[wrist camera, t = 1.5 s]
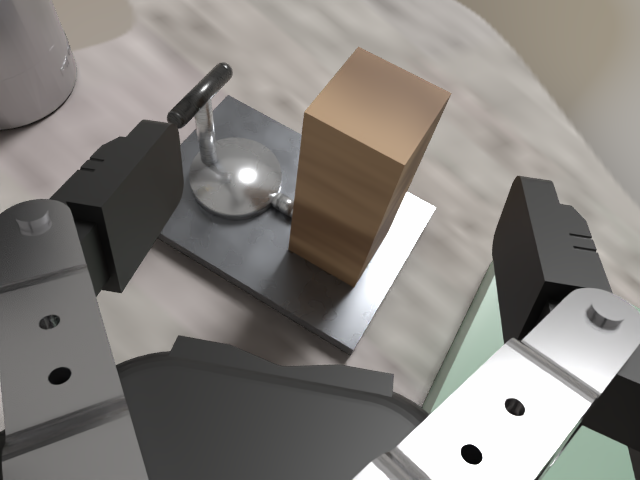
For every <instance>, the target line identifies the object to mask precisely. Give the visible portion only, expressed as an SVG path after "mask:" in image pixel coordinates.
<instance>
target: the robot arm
mask: <svg viewBox="0 0 640 480" xmlns="http://www.w3.org/2000/svg"><path fill="white" fill-rule="evenodd" d="M76 76H77V67H76V63H75V59H74V57H73V54H72V51H71V49H70V45H69V42H68V39H67V37H66V34H65V32H64V31H63V29H62V26H61V23H60V21H59V18H58V16H57V13H56V10H55V7H54V5H53V2H52V0H0V130H2V129H11V128H16V127H19V126H23V125H27V124H30V123H32V122H34V121H37V120H39V119H41V118H43V117H45V116H46V115H48V114H50V113H51V112H53V111H54V110H56V109H57V108H58V107H59V106H60V105H61V104H62V103H63V102H64V101H65V100H66V99H67V97H68V96H69V94H70V93H71V91H72V90H73V87H74V84H75V82H76ZM183 188H184V177H183V167H182V158H181V148H180V139H179V132H178V128H177V126H176V125H175V124H171V123H164V122H158V121H151V120H142V121H141V122H140V123H139V124H138V125H137V126H136V127H135V128H134V129H133V130H132V131H131V132H130V133H129V134H128V135H127V137H118V138H116V139H114V140H112V141H110V142H108V143H106V144H104V145H102V146H101V147H100V148H99V149H98V150H97V151H96V152H95V153H94V154H93V155H92V156H91V157H90V160H87V161H86V162H85V163H84V164H83V165H82V166H81V167H80V170H77V171H76V172H75V173H74V174H73V175H72V176H71V177H70V178H69V179H68V180H67V181H66V182H65V183H64V184H63V185H62V186H61V187H60V188H59V190H58V191H57V192H56V193H55V194H54V195H53V196H52V197H51V198H50V199H36V200H30V201H26V202H22V203H19V204H16V205H14V206H12V207H10V208H8V209H6V210H5V211H4V212H2V213H1V214H0V381H1V392H2V402H3V413H4V423H5V430H3V431H1V432H0V480H542V478H543V477H544V476H545V474H546V473H547V472H548V471H549V469H550V468H551V467H552V465H553V464H554V463H555V461H556V460H557V459H558V457H559V456H560V455H561V453H562V452H563V451H564V449H565V448H566V447H567V445H568V444H569V443H570V442H571V440H572V439H573V438H574V436H575V435H576V434H577V432H578V431H579V430H580V428H581V427H582V426H585V427H587V428H589V429H591V430H593V431H595V432H598V433H600V434H602V435H604V436H606V437H608V438H611V439H613V440H615V441H617V442H619V443H621V444H624V445H626V446H627V447H628V451H629V455H630V459H631V463H632V468H633V472H634V476H635V480H640V313H639V311H638V310H637V309H636V308H635V307H634V306H633V305H631V304H630V303H629V302H627V301H626V300H624V299H623V298H621V297H619V296H617V295H615V294H613V293H612V290H611V287H610V285H609V282H608V279H607V277H606V274H605V271H604V268H603V266H602V263H601V260H600V258H599V255H598V253H596V250H597V249H596V247H595V244H594V241H593V240H591V237H592V236H591V233H590V230H589V228H588V225H587V222H586V220H585V219H584V218H583V217H582V216H581V215H580V214H579V213H578V212H577V211H576V210H575V209H574V208H573V207H572V206H570V205H563V204H560V203H559V200H558V197H557V194H556V191H555V187H554V184H553V182H552V181H550V180H543V179H536V178H530V177H523V176H517V177H516V178H515V180H514V181H513V184H512V186H511V189H510V192H509V194H508V197H507V200H506V203H505V206H504V208H503V211H502V214H501V217H500V219H499V222H498V225H497V228H496V231H495V235H494V239H493V247H492V256H493V264H494V272H495V279H496V287H497V295H498V302H499V310H500V318H501V325H502V333H503V340H504V345H503V346H502V347H501V348H500V349H499V350H498V351H497V352H496V353H495V354H494V355H493V356H491V357H490V358H489V359H488V360H487V361H486V362H485V363H484V364H483V365H482V366H481V367H480V368H479V369H478V370H477V371H476V372H475V373H474V374H473V375H471V376H470V377H469V378H468V379H467V380H466V381H465V382H464V383H463V384H462V385H461V386H460V387H459V388H458V389H457V390H456V391H455V392H454V393H453V394H452V395H450V396H449V397H448V398H447V399H446V400H445V401H444V402H443V403H442V404H441V405H440V406H439V407H438V408H437V409H436V410H435V411H434V412H433V413H432V414H431V415H430V414H429V413H428V412H427V411H425V410H424V409H423V408H421V407H420V406H418V405H417V404H416V403H414V402H413V401H411V400H409V399H407V398H405V397H404V396H402V395H400V394H397V393H395V392H393V379H394V374H389V373H383V372H378V371H372V370H367V369H361V368H356V367H350V366H345V365H312V366H279V365H276V364H274V363H271V362H269V361H267V360H264V359H262V358H260V357H257V356H255V355H253V354H250V353H248V352H246V351H243V350H241V349H239V348H236V347H234V346H232V345H229V344H223V343H218V342H212V341H207V340H201V339H196V338H190V337H185V336H179V335H178V337H177V339H176V341H175V343H174V345H173V347H172V349H171V351H168V352H159V353H152V354H147V355H143V356H139V357H136V358H133V359H130V360H127V361H124V362H122V363H120V364H118V365H115V362H114V358H113V355H112V351H111V348H110V344H109V341H108V337H107V334H106V330H105V327H104V323H103V320H102V316H101V313H100V309H99V306H98V302H97V299H96V297H97V295H98V294H99V293H100V291H101V290H106V291H112V292H117V293H122V292H123V290H124V288H125V287H126V285H127V284H128V282H129V281H130V279H131V278H132V276H133V274H134V273H135V271H136V270H137V268H138V267H139V265H140V264H141V262H142V260H143V259H144V257H145V256H146V254H147V253H148V251H149V250H150V248H151V247H152V245H153V243H154V242H155V240H156V239H157V237H158V236H159V234H160V233H161V231H162V229H163V228H164V226H165V225H166V223H167V222H168V220H169V219H170V217H171V215H172V214H173V212H174V211H175V209H176V208H177V206H178V205H179V203H180V200H181V198H182V194H183Z"/></svg>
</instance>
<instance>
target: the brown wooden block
mask: <svg viewBox="0 0 640 480" xmlns="http://www.w3.org/2000/svg"><path fill="white" fill-rule="evenodd" d="M450 95H451V93H450V92H448V91H446V90H444V89H442V88H440V87H438V86H436V85H434V84H432V83H430V82H428V81H426V80H424V79H422V78H420V77H418V76H416V75H414V74H412V73H410V72H408V71H406V70H404V69H402V68H400V67H398V66H396V65H394V64H392V63H390V62H388V61H386V60H384V59H382V58H380V57H378V56H376V55H374V54H372V53H370V52H368V51H366V50H364V49H362V48H360V47H358V48H357V49H356V50H355V51H354V53H353V54H352V55H351V56H350V57H349V59H348V60H347V61H346V62H345V64H344V65H343V66H342V67H341V68H340V70H339V71H338V72H337V73H336V74H335V76H334V77H333V78H332V79H331V80H330V82H329V83H328V84H327V85H326V86H325V88H324V89H323V90H322V91H321V92H320V94H319V95H318V96H317V97H316V99H315V100H314V101H313V102H312V103H311V105H310V106H309V107H308V108H307V109H306V111H305V112H304V119H303V128H302V136H301V145H300V153H299V162H298V171H297V179H296V188H295V196H294V205H293V213H292V222H291V230H290V239H289V247H288V249H289V250H290V251H292V252H294V253H295V254H297V255H299V256H301V257H302V258H304V259H306V260H307V261H309V262H311V263H313V264H314V265H316V266H318V267H319V268H321V269H323V270H325V271H326V272H328V273H330V274H331V275H333V276H335V277H337V278H338V279H340V280H342V281H343V282H345V283H347V284H349V285H350V286H352V287H355V286H356V284H357V282H358V281H359V279H360V277H361V276H362V274H363V273H364V271H365V269H366V268H367V266H368V264H369V263H370V261H371V260H372V258H373V256H374V255H375V253H376V251H377V250H378V248H379V247H380V245H381V243H382V242H383V240H384V238H385V237H386V235H387V234H388V232H389V230H390V228H391V226H392V223H393V221H394V219H395V217H396V215H397V212H398V210H399V208H400V206H401V204H402V201H403V199H404V197H405V195H406V193H407V190H408V188H409V186H410V184H411V182H412V179H413V177H414V175H415V173H416V170H417V168H418V166H419V164H420V162H421V159H422V157H423V155H424V153H425V151H426V148H427V146H428V144H429V142H430V140H431V137H432V135H433V133H434V131H435V129H436V126H437V124H438V122H439V120H440V118H441V115H442V113H443V111H444V109H445V106H446V104H447V102H448V100H449V98H450Z"/></svg>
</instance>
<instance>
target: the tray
mask: <svg viewBox="0 0 640 480" xmlns="http://www.w3.org/2000/svg"><path fill="white" fill-rule="evenodd" d="M631 305H632V304H631ZM633 306H634V305H633ZM634 307H635V306H634ZM635 308H636V309H637V310H638V311H639V313H640V309H639V308H637V307H635ZM503 345H504V340H503V333H502V325H501V318H500V310H499V302H498V295H497V287H496V279H495V272H494V264H493V261H492V262H491V264H490V266H489V268H488V270H487V272H486V274H485V276H484V278H483V281H482V283H481V285H480V287H479V289H478V291H477V293H476V295H475V297H474V299H473V301H472V303H471V306H470V308H469V310H468V312H467V314H466V316H465V318H464V320H463V322H462V324H461V326H460V328H459V331H458V333H457V335H456V337H455V339H454V341H453V343H452V345H451V347H450V349H449V351H448V353H447V356H446V358H445V360H444V362H443V364H442V366H441V368H440V370H439V372H438V374H437V376H436V378H435V381H434V383H433V385H432V387H431V389H430V391H429V393H428V395H427V397H426V399H425V401H424V403H423V406H422V408H423V409H424V410H425V411H427V412H428V413H429V414H430V415H431V414H432V413H433V412H434V411H435V410H436V409H437V408H438V407H439V406H440V405H441V404H442V403H443V402H444V401H445V400H446V399H447V398H448V397H449V396H450V395H452V394H453V393H454V392H455V391H456V390H457V389H458V388H459V387H460V386H461V385H462V384H463V383H464V382H465V381H466V380H467V379H468V378H469V377H470V376H471V375H473V374H474V373H475V372H476V371H477V370H478V369H479V368H480V367H481V366H482V365H483V364H484V363H485V362H486V361H487V360H488V359H489V358H490V357H491V356H493V355H494V354H495V353H496V352H497V351H498V350H499V349H500V348H501V347H502V346H503ZM542 480H635V476H634V472H633V468H632V463H631V459H630V455H629V451H628V447H627V446H626V445H624V444H621V443H619V442H617V441H615V440H613V439H611V438H608V437H606V436H604V435H602V434H600V433H598V432H595V431H593V430H591V429H589V428H587V427H585V426H582V427H581V428H580V430H579V431H578V432H577V434H576V435H575V436H574V438H573V439H572V440H571V442H570V443H569V444H568V445H567V447H566V448H565V449H564V451H563V452H562V453H561V455H560V456H559V457H558V459H557V460H556V461H555V463H554V464H553V465H552V467H551V468H550V469H549V471H548V472H547V473H546V474H545V476H544V477H543V478H542Z"/></svg>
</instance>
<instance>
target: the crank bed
mask: <svg viewBox="0 0 640 480" xmlns="http://www.w3.org/2000/svg"><path fill="white" fill-rule="evenodd" d="M232 74H233V72H232V68H231V66H230V65H229V64H227V63H219V64H217V65H216V66H215V67H214V68H213V69H212V70H211V71H210V72H209V73H208V74H207V75H206V76H205V77H204V78H203V79H202V80H201V81H200V82H199V83H198V84H197V85H196V86H195V87H194V88H193V89H192V90H191V91H190V92H189V93H188V94H187V95H186V96H185V97H184V98H183V99H182V100H181V101H180V102H179V103H178V104H177V105H176V106H175V107H174V108H173V109H172V110H171V111H170V112H169V113H168V115H167V121H168V123H171V124H175V125H176V126H177V128H178V129H180V128H182V127H184V126H185V125H186V124H187V123H188V122H189V121H190V120H191V119H192V118H193V117H195V123H196V129H195V130H194V131H193V132H192V133H191V135H190V136H189V137H188V138H187V139H186V140H185V141H184V142H183V143H182V144H181V145H180V148H181V158H182V167H183V177H184V188H183V194H182V198H181V200H180V203H179V205H178V206H177V208H176V209H175V211H174V212H173V214H172V215H171V217H170V219H169V220H168V222H167V223H166V225H165V226H164V228H163V229H162V231H161V233H160V234H159V236H158V237H157V238H159V239H160V240H162V241H164V242H165V243H167V244H169V245H170V246H172V247H173V248H175V249H177V250H178V251H180V252H182V253H183V254H185V255H187V256H188V257H190V258H192V259H193V260H195V261H196V262H198V263H200V264H201V265H203V266H205V267H206V268H208V269H210V270H211V271H213V272H215V273H216V274H218V275H219V276H221V277H223V278H224V279H226V280H228V281H229V282H231V283H233V284H234V285H236V286H238V287H239V288H241V289H243V290H244V291H246V292H247V293H249V294H251V295H252V296H254V297H256V298H257V299H259V300H261V301H262V302H264V303H266V304H267V305H269V306H270V307H272V308H274V309H275V310H277V311H279V312H280V313H282V314H284V315H285V316H287V317H289V318H290V319H292V320H293V321H295V322H297V323H298V324H300V325H302V326H303V327H305V328H307V329H308V330H310V331H312V332H313V333H315V334H317V335H318V336H320V337H321V338H323V339H325V340H326V341H328V342H330V343H331V344H333V345H335V346H336V347H338V348H340V349H341V350H343V351H344V352H346V353H348V354H349V355H351V354H352V352H353V350H354V348H355V347H356V345H357V343H358V342H359V340H360V338H361V336H362V335H363V333H364V331H365V329H366V328H367V326H368V324H369V323H370V321H371V319H372V317H373V316H374V314H375V312H376V310H377V309H378V307H379V305H380V303H381V302H382V300H383V298H384V297H385V295H386V293H387V291H388V290H389V288H390V286H391V284H392V283H393V281H394V279H395V277H396V276H397V274H398V272H399V271H400V269H401V267H402V265H403V264H404V262H405V260H406V258H407V257H408V255H409V253H410V251H411V250H412V248H413V246H414V245H415V243H416V241H417V239H418V238H419V236H420V234H421V232H422V231H423V229H424V227H425V226H426V224H427V222H428V220H429V219H430V217H431V215H432V213H433V212H434V210H435V208H436V207H434V206H432V205H430V204H428V203H427V202H425V201H423V200H421V199H419V198H417V197H415V196H414V195H412V194H410V193H408V192H407V193H406V195H405V197H404V199H403V201H402V204H401V206H400V208H399V210H398V212H397V215H396V217H395V219H394V221H393V223H392V226H391V228H390V230H389V232H388V234H387V235H386V237H385V238H384V240H383V242H382V243H381V245H380V247H379V248H378V250H377V251H376V253H375V255H374V256H373V258H372V260H371V261H370V263H369V264H368V266H367V268H366V269H365V271H364V273H363V274H362V276H361V277H360V279H359V281H358V282H357V284H356V286H355V287H352V286H350V285H349V284H347V283H345V282H343V281H342V280H340V279H338V278H337V277H335V276H333V275H331V274H330V273H328V272H326V271H325V270H323V269H321V268H319V267H318V266H316V265H314V264H313V263H311V262H309V261H307V260H306V259H304V258H302V257H301V256H299V255H297V254H295V253H294V252H292V251H290V250H289V249H288V247H289V239H290V230H291V222H292V213H293V205H294V196H295V188H296V179H297V171H298V162H299V153H300V145H301V136H302V135H301V134H299V133H297V132H295V131H294V130H292V129H290V128H288V127H286V126H284V125H282V124H281V123H279V122H277V121H275V120H273V119H271V118H270V117H268V116H266V115H264V114H262V113H260V112H258V111H257V110H255V109H253V108H251V107H249V106H247V105H246V104H244V103H242V102H240V101H238V100H236V99H234V98H233V97H231V96H229V95H228V96H227V97H226V98H225V99H224V100H223V101H222V102H221V103H220V104H219V105H218V106H217V107H216V108H215V109H214V110H213V111H212V103H211V98H212V97H213V96H214V95H215V94H216V93H217V92H218V91H219V90H220V89H221V88H222V87H223V86H224V85H225V84H226V83H227V82H228V81H229V80H230V78H231V77H232Z"/></svg>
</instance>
